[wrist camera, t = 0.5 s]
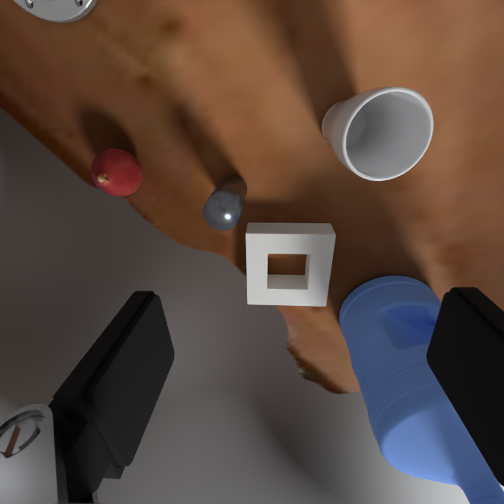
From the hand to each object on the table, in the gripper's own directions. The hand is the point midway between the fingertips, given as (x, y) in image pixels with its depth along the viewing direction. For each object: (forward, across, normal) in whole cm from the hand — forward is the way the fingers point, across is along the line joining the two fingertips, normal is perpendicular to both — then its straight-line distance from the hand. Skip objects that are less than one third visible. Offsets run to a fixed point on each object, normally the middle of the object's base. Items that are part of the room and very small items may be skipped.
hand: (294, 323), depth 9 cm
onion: (+31, +21, -1) cm, 37 cm away
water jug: (+32, -17, +25) cm, 44 cm away
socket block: (+31, -1, +14) cm, 34 cm away
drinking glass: (+31, -8, -4) cm, 32 cm away
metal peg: (+31, +7, +3) cm, 32 cm away
